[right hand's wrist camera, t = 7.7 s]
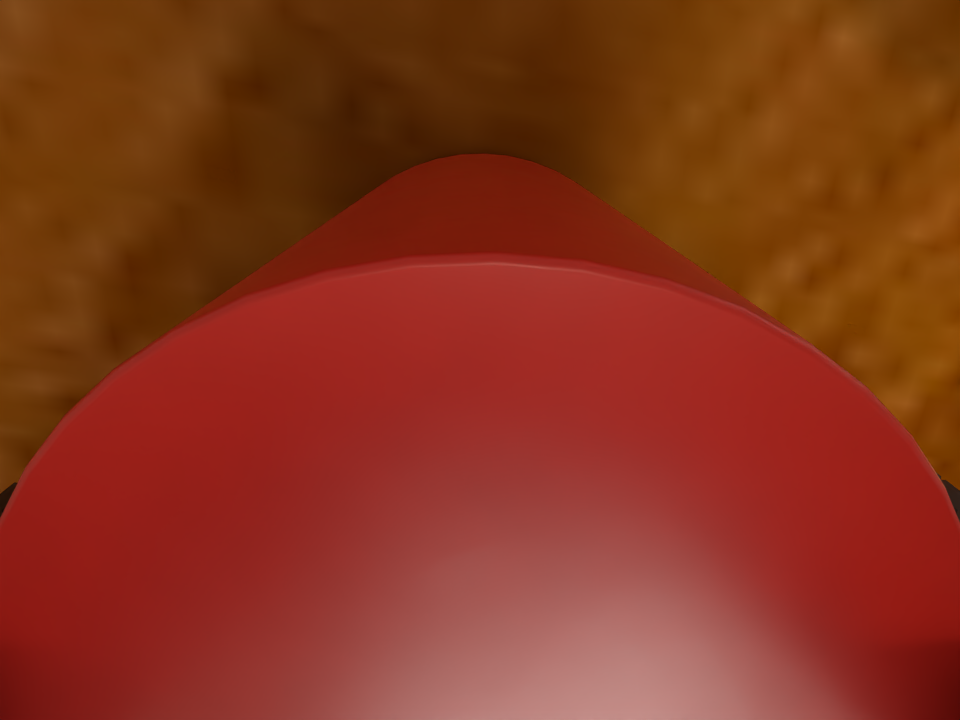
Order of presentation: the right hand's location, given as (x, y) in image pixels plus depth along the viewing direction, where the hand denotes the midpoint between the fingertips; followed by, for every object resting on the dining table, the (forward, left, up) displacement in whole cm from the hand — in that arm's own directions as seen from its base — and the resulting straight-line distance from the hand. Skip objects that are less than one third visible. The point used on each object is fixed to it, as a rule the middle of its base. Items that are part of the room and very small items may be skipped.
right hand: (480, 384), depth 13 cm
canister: (0, 0, -4) cm, 4 cm away
